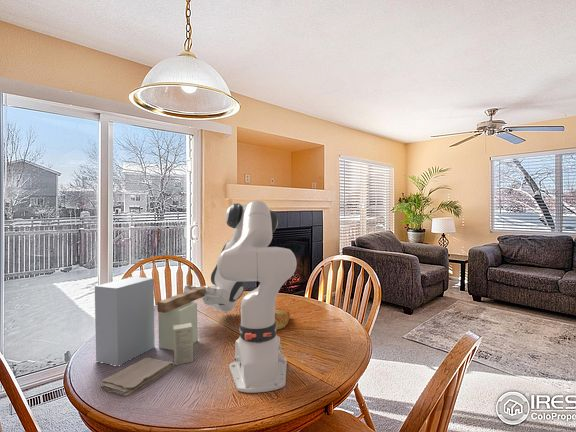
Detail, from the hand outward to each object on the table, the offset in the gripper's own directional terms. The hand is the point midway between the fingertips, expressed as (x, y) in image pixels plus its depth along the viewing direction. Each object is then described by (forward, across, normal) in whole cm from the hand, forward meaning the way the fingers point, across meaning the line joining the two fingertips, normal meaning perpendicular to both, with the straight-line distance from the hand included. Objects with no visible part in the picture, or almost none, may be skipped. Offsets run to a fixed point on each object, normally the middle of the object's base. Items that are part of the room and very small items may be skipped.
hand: (196, 287), depth 129 cm
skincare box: (+9, +11, +28) cm, 31 cm away
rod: (+4, 0, +7) cm, 8 cm away
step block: (0, 0, +22) cm, 22 cm away
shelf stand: (+11, -12, +29) cm, 33 cm away
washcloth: (+20, +5, +35) cm, 40 cm away
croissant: (-27, +28, +7) cm, 40 cm away
